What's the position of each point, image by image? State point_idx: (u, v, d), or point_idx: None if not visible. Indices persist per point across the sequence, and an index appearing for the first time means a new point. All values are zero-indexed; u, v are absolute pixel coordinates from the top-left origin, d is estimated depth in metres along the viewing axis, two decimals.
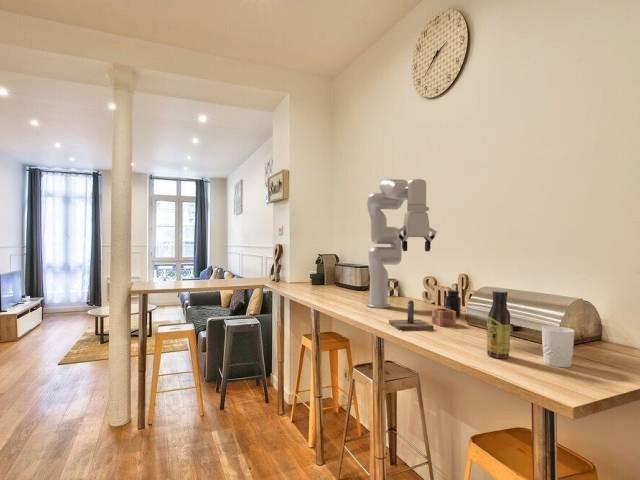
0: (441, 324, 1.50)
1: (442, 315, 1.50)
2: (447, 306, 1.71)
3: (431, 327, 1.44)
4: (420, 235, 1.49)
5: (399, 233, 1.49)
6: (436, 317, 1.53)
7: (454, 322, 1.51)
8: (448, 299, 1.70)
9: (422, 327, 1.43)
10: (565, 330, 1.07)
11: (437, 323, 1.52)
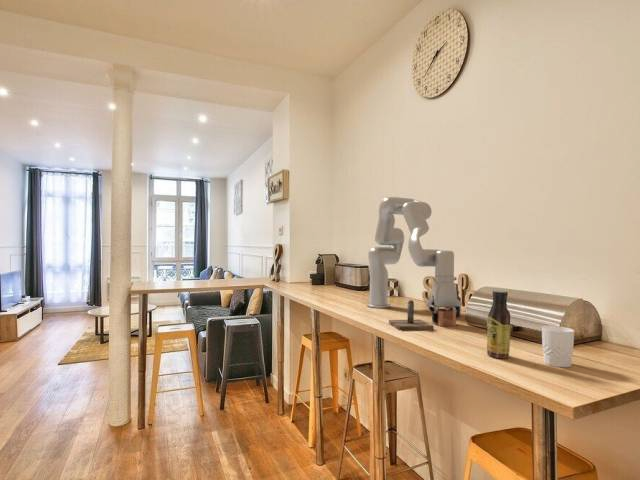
0: (441, 324, 1.50)
1: (442, 315, 1.50)
2: None
3: (431, 327, 1.44)
4: (448, 306, 1.52)
5: (429, 305, 1.53)
6: None
7: (454, 322, 1.51)
8: None
9: (422, 327, 1.43)
10: (565, 330, 1.07)
11: (437, 323, 1.52)
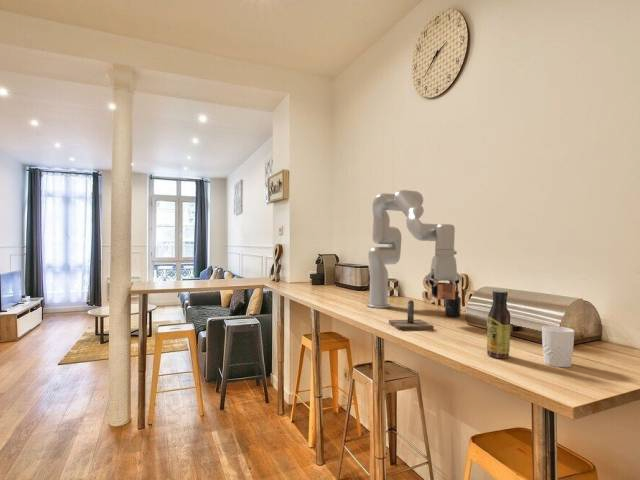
0: (440, 297, 1.51)
1: (442, 288, 1.51)
2: (447, 306, 1.71)
3: (431, 327, 1.44)
4: (448, 279, 1.53)
5: (429, 279, 1.53)
6: None
7: (453, 295, 1.52)
8: (448, 299, 1.70)
9: (422, 327, 1.43)
10: (565, 330, 1.07)
11: (436, 296, 1.53)
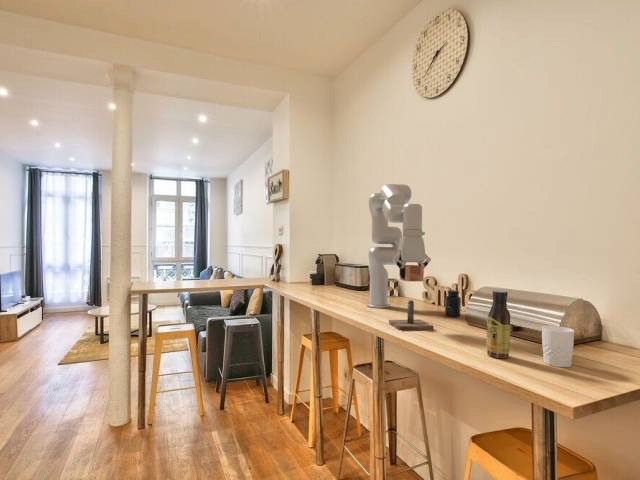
0: (408, 279, 1.45)
1: (409, 270, 1.45)
2: (447, 306, 1.71)
3: (431, 327, 1.44)
4: (415, 261, 1.47)
5: (396, 261, 1.47)
6: None
7: (422, 277, 1.46)
8: (448, 299, 1.70)
9: (422, 327, 1.43)
10: (565, 330, 1.07)
11: (404, 279, 1.47)
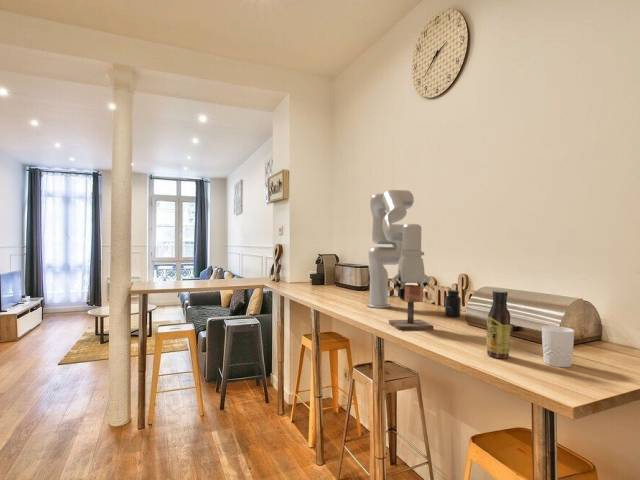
0: (407, 300, 1.45)
1: (408, 291, 1.45)
2: (447, 306, 1.71)
3: (431, 327, 1.44)
4: (415, 281, 1.47)
5: (395, 281, 1.47)
6: None
7: (421, 298, 1.46)
8: (448, 299, 1.70)
9: (422, 327, 1.43)
10: (565, 330, 1.07)
11: (404, 299, 1.47)
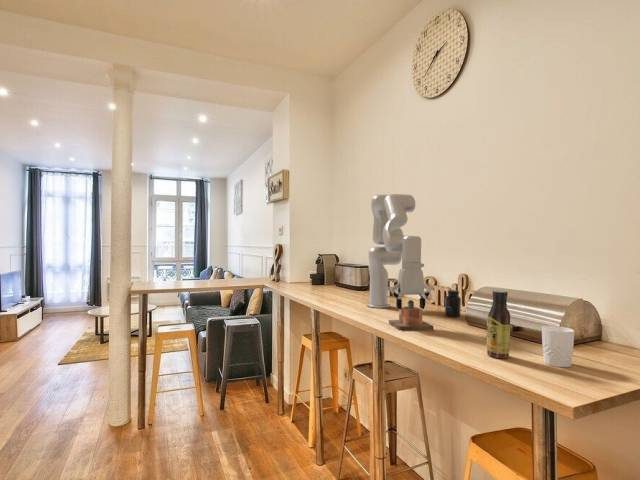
0: (407, 323, 1.45)
1: (408, 313, 1.45)
2: (447, 306, 1.71)
3: (431, 327, 1.44)
4: (415, 293, 1.47)
5: (393, 291, 1.47)
6: (402, 315, 1.48)
7: (420, 321, 1.46)
8: (448, 299, 1.70)
9: (422, 327, 1.43)
10: (565, 330, 1.07)
11: (403, 322, 1.47)
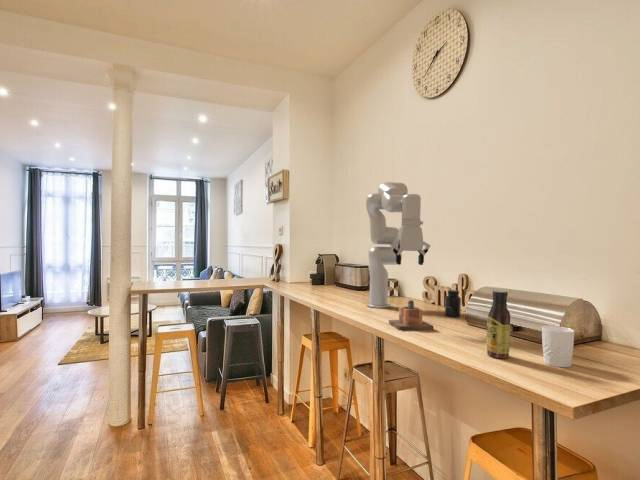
0: (407, 323, 1.45)
1: (408, 313, 1.45)
2: (447, 306, 1.71)
3: (431, 327, 1.44)
4: (414, 249, 1.52)
5: (393, 247, 1.52)
6: (402, 315, 1.48)
7: (420, 321, 1.46)
8: (448, 299, 1.70)
9: (422, 327, 1.43)
10: (565, 330, 1.07)
11: (403, 322, 1.47)
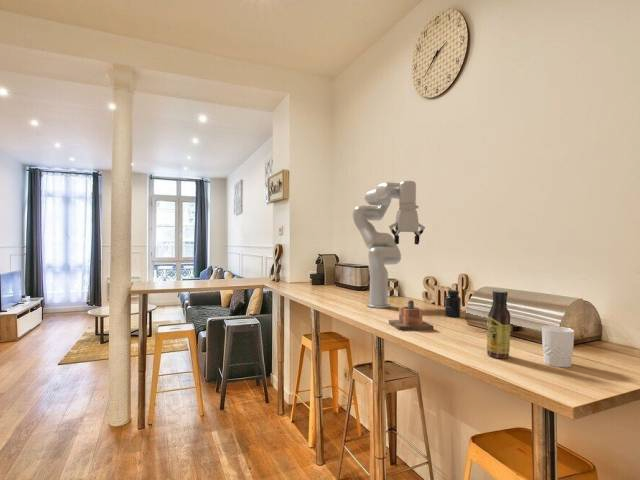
0: (407, 323, 1.45)
1: (408, 313, 1.45)
2: (447, 306, 1.71)
3: (431, 327, 1.44)
4: (410, 230, 1.70)
5: (392, 228, 1.70)
6: (402, 315, 1.48)
7: (420, 321, 1.46)
8: (448, 299, 1.70)
9: (422, 327, 1.43)
10: (565, 330, 1.07)
11: (403, 322, 1.47)
